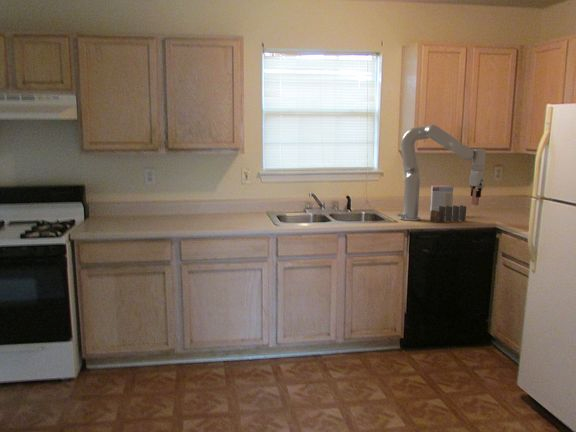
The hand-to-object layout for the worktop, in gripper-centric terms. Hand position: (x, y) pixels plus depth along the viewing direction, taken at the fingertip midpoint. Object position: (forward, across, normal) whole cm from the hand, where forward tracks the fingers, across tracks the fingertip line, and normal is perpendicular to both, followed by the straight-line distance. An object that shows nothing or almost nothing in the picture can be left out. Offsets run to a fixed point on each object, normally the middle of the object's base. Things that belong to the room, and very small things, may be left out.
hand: (475, 196), depth 329 cm
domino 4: (+17, -6, -5) cm, 19 cm away
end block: (+17, -6, -25) cm, 31 cm away
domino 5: (+6, 0, 0) cm, 6 cm away
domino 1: (+17, -6, -20) cm, 27 cm away
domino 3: (+17, -6, -10) cm, 21 cm away
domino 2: (+17, -6, -15) cm, 23 cm away
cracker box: (+18, -28, -8) cm, 34 cm away
